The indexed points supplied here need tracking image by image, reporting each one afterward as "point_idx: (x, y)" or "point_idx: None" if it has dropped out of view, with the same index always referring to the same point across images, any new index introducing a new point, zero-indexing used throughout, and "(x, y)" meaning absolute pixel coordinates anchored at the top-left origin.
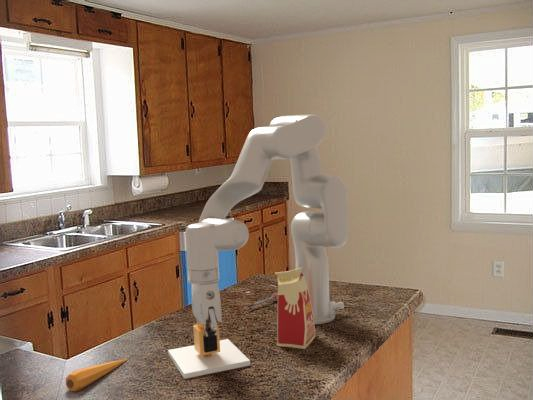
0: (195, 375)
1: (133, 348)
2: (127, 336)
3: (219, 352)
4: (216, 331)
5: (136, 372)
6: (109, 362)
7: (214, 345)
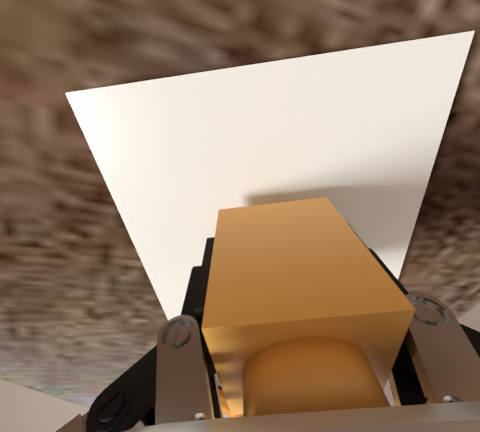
0: None
1: (110, 369)
2: (15, 377)
3: (264, 181)
4: (457, 324)
5: None
6: (229, 415)
7: (377, 257)
